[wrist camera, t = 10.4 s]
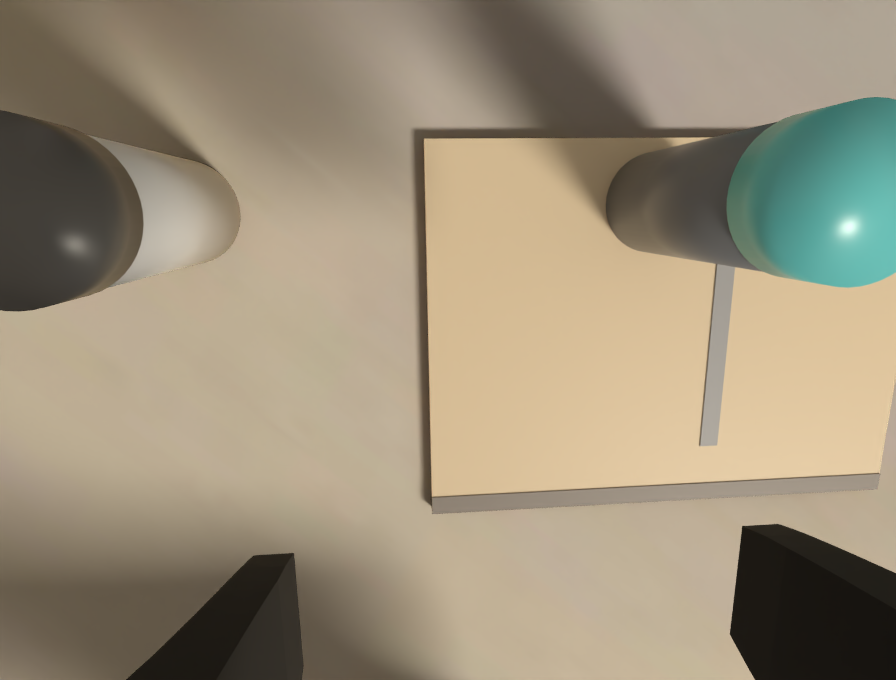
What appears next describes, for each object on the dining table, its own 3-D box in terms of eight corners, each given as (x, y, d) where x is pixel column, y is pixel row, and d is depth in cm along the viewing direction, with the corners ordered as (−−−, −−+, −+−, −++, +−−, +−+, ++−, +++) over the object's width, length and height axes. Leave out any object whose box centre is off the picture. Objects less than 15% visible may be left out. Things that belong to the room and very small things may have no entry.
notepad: (867, 483, 21) (877, 489, 20) (431, 507, 19) (432, 514, 19) (925, 138, 18) (938, 136, 17) (423, 140, 17) (424, 138, 16)
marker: (697, 252, 18) (931, 285, 10) (602, 255, 17) (764, 290, 10) (706, 149, 17) (965, 96, 9) (606, 150, 17) (785, 97, 9)
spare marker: (246, 264, 17) (117, 308, 9) (140, 266, 17) (-84, 314, 9) (236, 157, 16) (87, 107, 9) (126, 158, 16) (-131, 108, 8)
